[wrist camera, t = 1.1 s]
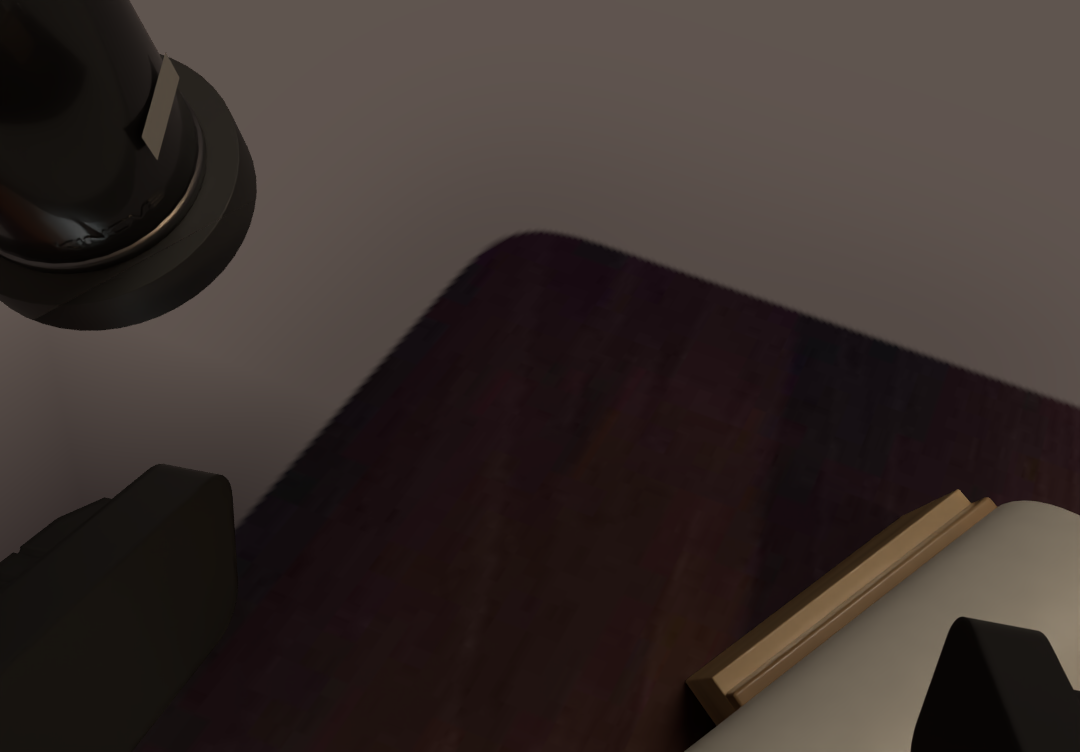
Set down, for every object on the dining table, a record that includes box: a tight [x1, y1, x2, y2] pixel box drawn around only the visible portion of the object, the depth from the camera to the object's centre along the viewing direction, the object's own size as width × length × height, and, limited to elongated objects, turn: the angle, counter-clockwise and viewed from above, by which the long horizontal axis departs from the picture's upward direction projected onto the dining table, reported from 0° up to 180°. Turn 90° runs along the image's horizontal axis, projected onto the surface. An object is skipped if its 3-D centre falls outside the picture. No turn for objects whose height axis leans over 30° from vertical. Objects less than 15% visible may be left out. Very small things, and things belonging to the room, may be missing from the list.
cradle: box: [686, 490, 997, 726], centre depth 25 cm, size 7×9×5 cm
